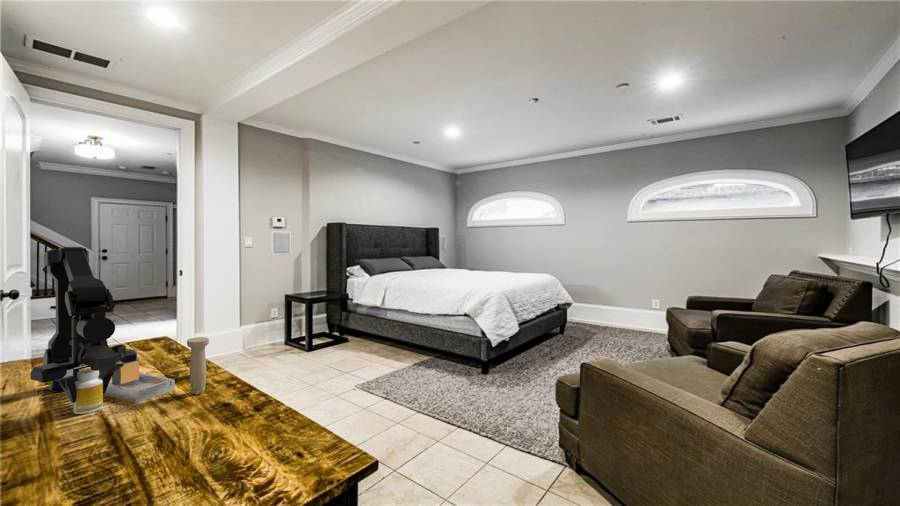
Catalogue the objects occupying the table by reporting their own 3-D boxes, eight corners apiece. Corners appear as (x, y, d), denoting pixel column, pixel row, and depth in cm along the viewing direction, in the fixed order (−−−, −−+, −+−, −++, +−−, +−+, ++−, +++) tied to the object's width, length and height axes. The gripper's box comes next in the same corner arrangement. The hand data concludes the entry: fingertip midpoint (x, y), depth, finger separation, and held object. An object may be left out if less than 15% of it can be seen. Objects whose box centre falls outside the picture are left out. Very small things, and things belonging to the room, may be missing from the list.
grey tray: (99, 393, 105) (99, 363, 105) (139, 382, 114) (139, 354, 114) (136, 402, 99) (136, 370, 99) (174, 390, 108) (174, 360, 108)
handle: (191, 398, 102) (191, 343, 102) (184, 392, 106) (184, 339, 106) (211, 393, 106) (211, 339, 106) (203, 387, 110) (204, 336, 110)
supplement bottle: (108, 407, 96) (108, 369, 96) (81, 416, 91) (81, 376, 91) (94, 404, 98) (94, 366, 98) (68, 412, 93) (67, 373, 93)
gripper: (55, 348, 83) (56, 419, 83) (150, 331, 100) (150, 389, 100) (29, 343, 87) (29, 410, 87) (124, 327, 104) (124, 383, 104)
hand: (88, 398), depth 95 cm, fingers closed on supplement bottle, 5 cm apart
